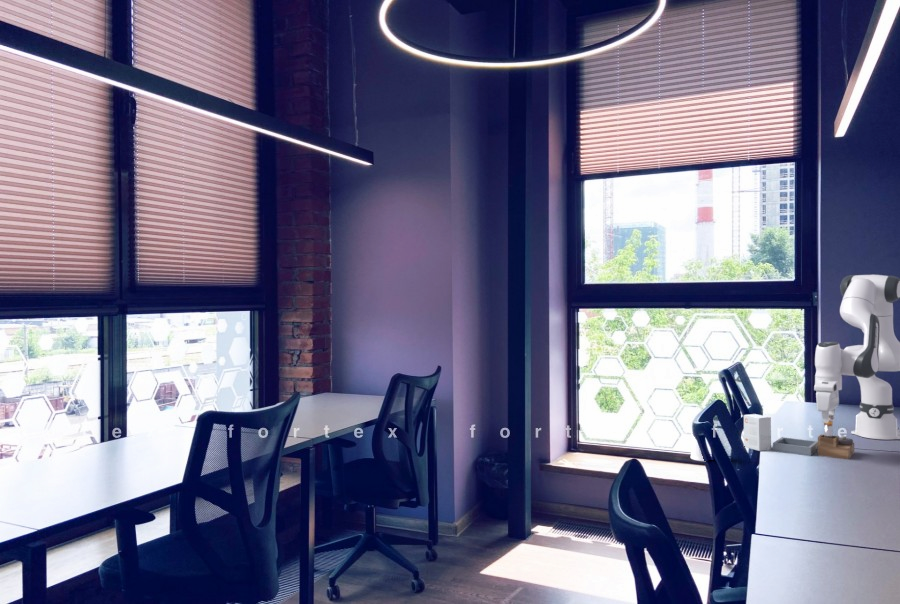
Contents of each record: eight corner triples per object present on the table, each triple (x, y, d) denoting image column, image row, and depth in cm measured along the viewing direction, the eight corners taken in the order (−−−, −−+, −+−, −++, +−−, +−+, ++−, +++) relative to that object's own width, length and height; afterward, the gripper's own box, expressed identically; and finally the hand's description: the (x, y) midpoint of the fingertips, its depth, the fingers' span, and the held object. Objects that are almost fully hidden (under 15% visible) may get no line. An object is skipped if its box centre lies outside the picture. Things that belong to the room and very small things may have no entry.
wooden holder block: (824, 449, 256) (824, 431, 256) (854, 453, 249) (854, 435, 249) (817, 455, 247) (817, 437, 247) (848, 459, 240) (848, 440, 240)
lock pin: (825, 443, 249) (824, 419, 249) (833, 444, 247) (833, 420, 247) (823, 444, 247) (823, 421, 247) (831, 445, 245) (831, 421, 245)
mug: (709, 464, 236) (709, 431, 236) (685, 461, 241) (685, 429, 240) (717, 457, 245) (716, 426, 245) (693, 454, 250) (693, 423, 250)
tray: (782, 444, 265) (782, 437, 265) (818, 449, 256) (818, 441, 256) (773, 450, 255) (772, 442, 255) (810, 455, 246) (810, 447, 246)
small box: (771, 449, 256) (771, 417, 256) (759, 451, 254) (759, 418, 254) (755, 445, 264) (755, 413, 264) (743, 446, 262) (743, 414, 262)
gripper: (824, 381, 257) (825, 416, 257) (813, 386, 241) (813, 423, 241) (843, 382, 253) (843, 418, 252) (832, 387, 237) (832, 425, 237)
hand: (828, 420), depth 247 cm, fingers open, 8 cm apart
